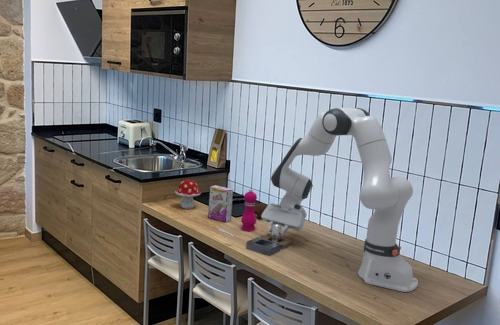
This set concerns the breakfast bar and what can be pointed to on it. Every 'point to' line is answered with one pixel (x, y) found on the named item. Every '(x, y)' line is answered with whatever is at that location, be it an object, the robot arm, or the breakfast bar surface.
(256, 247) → the socket block
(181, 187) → the decorative mushroom
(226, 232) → the butter knife
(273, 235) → the steel axle
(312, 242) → the breakfast bar surface
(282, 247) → the wooden picture frame
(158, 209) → the breakfast bar surface
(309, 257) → the breakfast bar surface
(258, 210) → the brown rounded lump
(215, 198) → the candy bar box
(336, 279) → the breakfast bar surface
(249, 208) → the pepper mill
